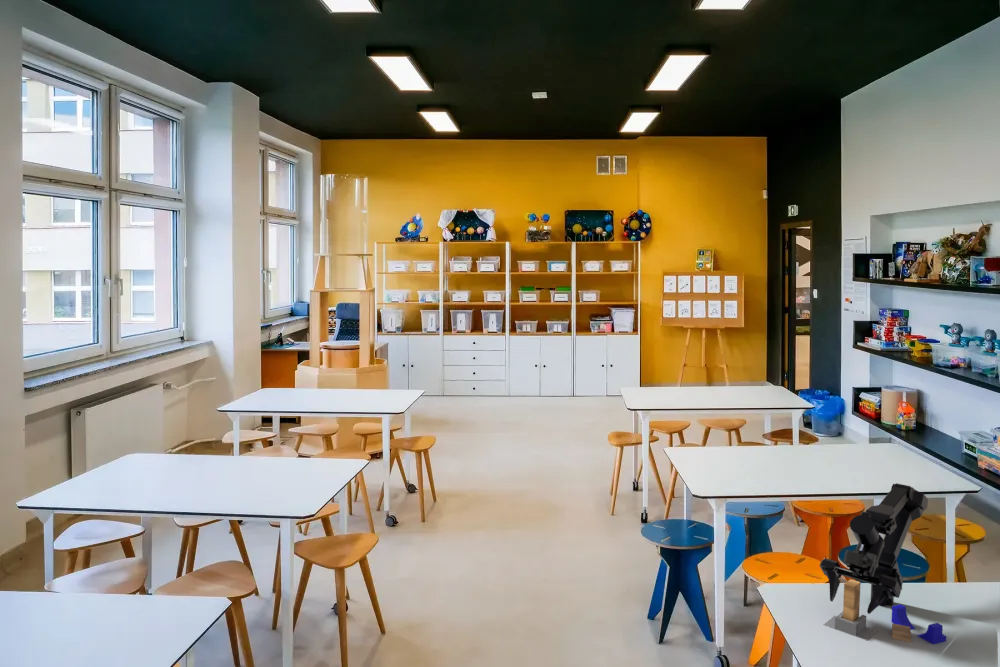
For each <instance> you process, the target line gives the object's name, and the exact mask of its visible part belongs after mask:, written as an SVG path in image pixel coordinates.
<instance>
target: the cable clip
mask: <svg viewBox="0 0 1000 667" xmlns="http://www.w3.org/2000/svg"><path fill="white" fill-rule="evenodd" d="M891 623H893V624H898V625H903V626H908V627H910V630H916V627H915V626H914V625H913V624H912V622H911V621H910V619H909V617H908V615H907V607H906V606H905V605H903V604H897V605H891ZM943 629H944V628H943V625H942V624H941V623H938V622H934V623H931V624H928V626H927V630H926V631H925V632H924V633H920V634H916V635H915V636H917V637H918V638H920V639H922V640H924V641H926V642H927V643H930V644H931V645H936V644H941V643H943V642H947V635H945V634H944V633H943Z"/></svg>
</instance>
